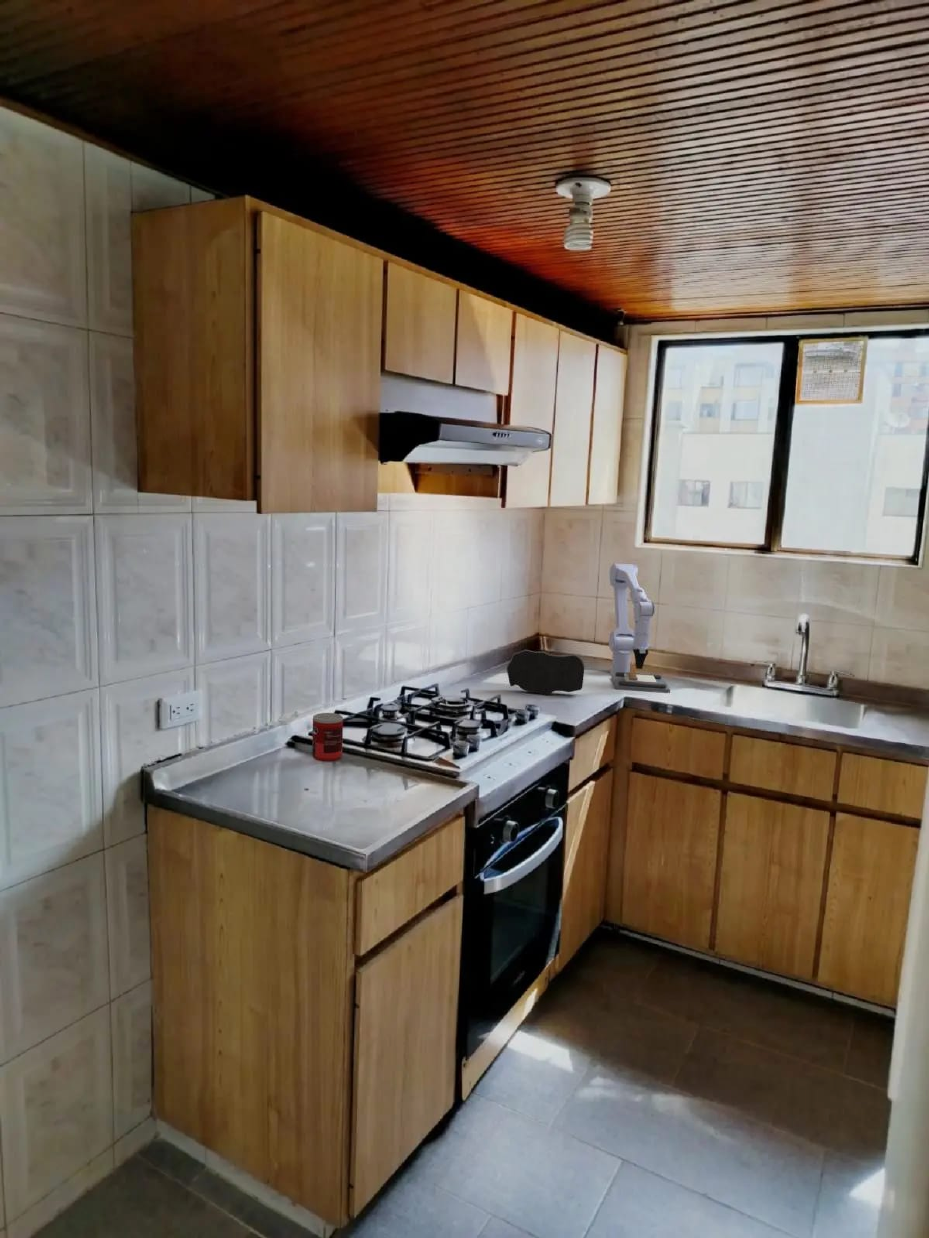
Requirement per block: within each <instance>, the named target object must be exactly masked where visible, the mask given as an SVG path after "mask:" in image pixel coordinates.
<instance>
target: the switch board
mask: <svg viewBox="0 0 929 1238" xmlns="http://www.w3.org/2000/svg"><path fill="white" fill-rule="evenodd" d="M636 676H637V678H638V679H637V680H629V678H628V675H627V673H624V672H616V673H615V675H611V681H612V684H613V686H614V690H625V691H637V690H638V692H651V691H662V692H661V693H666V692H667V693H668V692H669V693H671V688H670V687H669V685H668V683H667V681H666V680H665V678H664V677H663V678H662V675H661V674H653V673H652V674H649V673H639V672H638V673H637V672H636Z"/></svg>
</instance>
